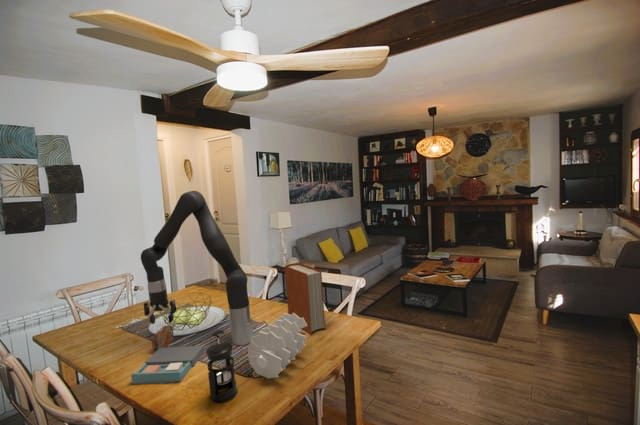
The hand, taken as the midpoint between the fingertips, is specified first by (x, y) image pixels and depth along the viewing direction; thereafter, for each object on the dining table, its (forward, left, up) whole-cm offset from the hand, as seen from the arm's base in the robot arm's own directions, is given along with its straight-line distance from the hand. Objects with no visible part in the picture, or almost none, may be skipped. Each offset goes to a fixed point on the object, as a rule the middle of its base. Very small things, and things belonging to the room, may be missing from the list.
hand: (162, 322), depth 157 cm
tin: (0, 0, -12) cm, 12 cm away
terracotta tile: (-7, +25, -11) cm, 28 cm away
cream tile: (-16, +24, -11) cm, 31 cm away
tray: (-12, +24, -12) cm, 29 cm away
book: (-66, -16, -12) cm, 69 cm away
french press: (-41, +38, -12) cm, 57 cm away
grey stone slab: (-12, +13, -12) cm, 21 cm away
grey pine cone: (-58, +20, -12) cm, 62 cm away
